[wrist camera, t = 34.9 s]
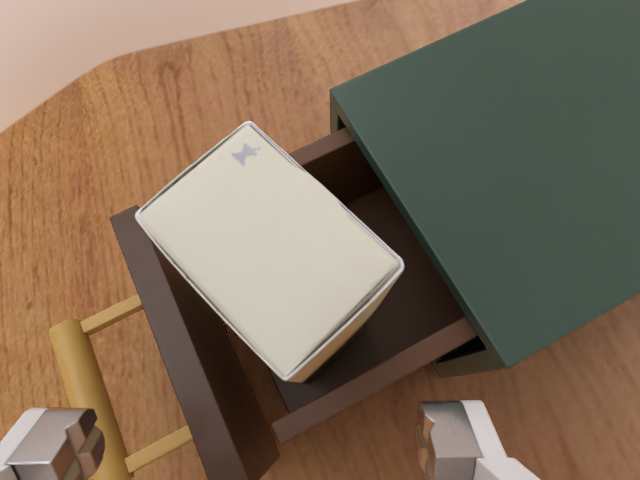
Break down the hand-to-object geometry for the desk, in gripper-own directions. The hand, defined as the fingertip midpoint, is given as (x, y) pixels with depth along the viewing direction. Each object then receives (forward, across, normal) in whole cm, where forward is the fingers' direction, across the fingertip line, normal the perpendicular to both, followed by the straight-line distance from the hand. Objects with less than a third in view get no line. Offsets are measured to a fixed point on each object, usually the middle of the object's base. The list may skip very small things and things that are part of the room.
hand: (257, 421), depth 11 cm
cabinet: (+16, -11, +2) cm, 20 cm away
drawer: (+11, 0, +5) cm, 13 cm away
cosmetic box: (+11, 0, +5) cm, 12 cm away
